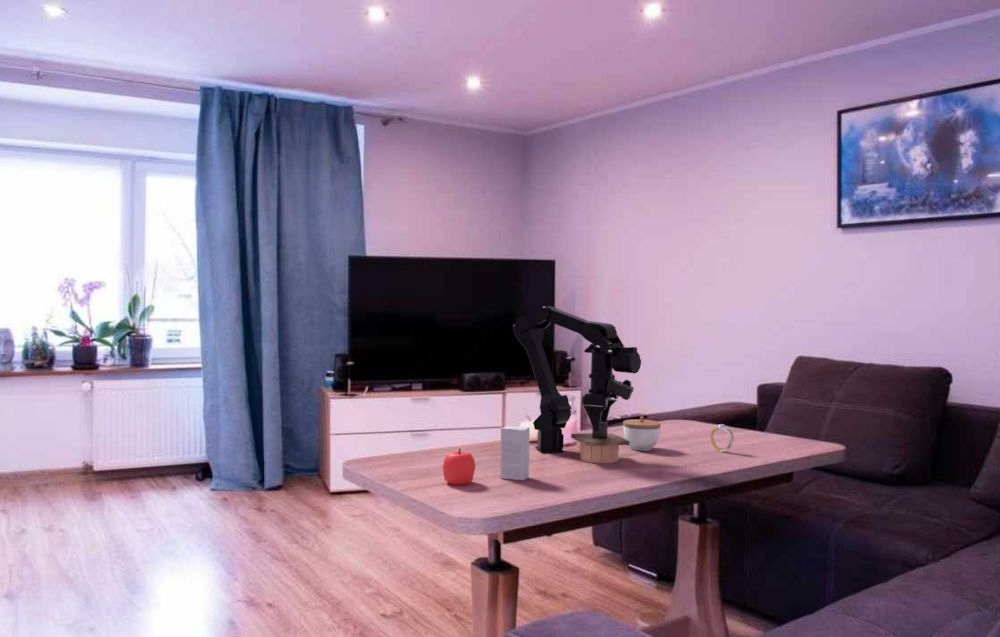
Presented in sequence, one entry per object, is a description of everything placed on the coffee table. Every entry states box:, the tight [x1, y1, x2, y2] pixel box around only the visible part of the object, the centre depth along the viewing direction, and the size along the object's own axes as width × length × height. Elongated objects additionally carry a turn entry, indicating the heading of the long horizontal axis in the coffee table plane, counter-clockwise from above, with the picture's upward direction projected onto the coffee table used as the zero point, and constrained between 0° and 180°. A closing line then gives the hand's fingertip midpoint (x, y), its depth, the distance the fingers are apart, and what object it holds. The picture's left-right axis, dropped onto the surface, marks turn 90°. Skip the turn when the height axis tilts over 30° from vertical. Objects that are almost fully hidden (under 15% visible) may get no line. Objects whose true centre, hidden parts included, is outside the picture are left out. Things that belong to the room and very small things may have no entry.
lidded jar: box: [622, 416, 661, 452], centre depth 216 cm, size 11×11×9 cm
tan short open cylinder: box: [579, 442, 620, 465], centre depth 199 cm, size 10×10×5 cm
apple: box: [442, 447, 476, 486], centre depth 170 cm, size 8×8×8 cm
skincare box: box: [499, 425, 531, 481], centre depth 176 cm, size 6×4×12 cm
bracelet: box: [710, 423, 735, 453], centre depth 214 cm, size 7×3×8 cm, turn 35°
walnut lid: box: [570, 421, 629, 446], centre depth 199 cm, size 12×12×5 cm
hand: (599, 428), depth 199 cm, fingers open, 9 cm apart
